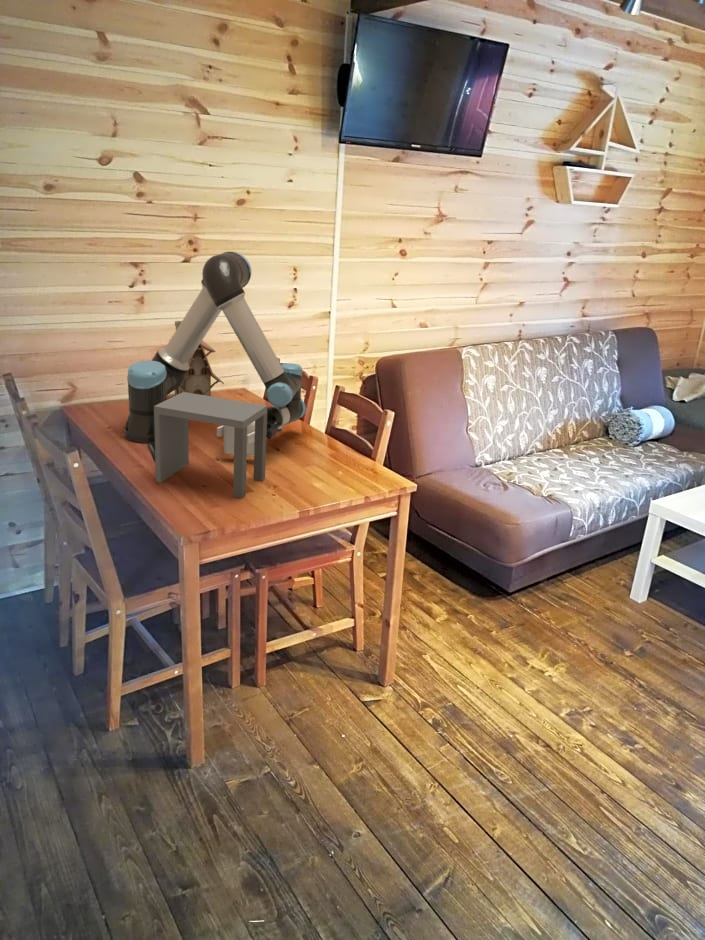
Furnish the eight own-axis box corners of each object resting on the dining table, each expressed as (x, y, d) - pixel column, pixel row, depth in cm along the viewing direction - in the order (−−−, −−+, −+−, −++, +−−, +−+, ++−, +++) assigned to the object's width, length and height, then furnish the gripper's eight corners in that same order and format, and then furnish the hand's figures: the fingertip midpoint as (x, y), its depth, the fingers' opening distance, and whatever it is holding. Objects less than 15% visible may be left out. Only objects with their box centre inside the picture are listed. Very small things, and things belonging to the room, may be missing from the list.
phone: (155, 459, 214) (147, 442, 226) (155, 463, 214) (147, 446, 227) (181, 458, 217) (172, 441, 229) (181, 461, 217) (172, 444, 230)
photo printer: (222, 455, 217) (222, 415, 212) (224, 450, 221) (224, 411, 216) (256, 457, 217) (257, 418, 213) (258, 452, 221) (259, 413, 217)
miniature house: (175, 420, 251) (174, 334, 240) (161, 400, 270) (159, 320, 259) (226, 416, 258) (227, 333, 247) (209, 397, 278) (209, 320, 267)
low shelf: (155, 481, 201) (153, 406, 192) (184, 463, 215) (183, 391, 207) (241, 498, 195) (243, 421, 186) (264, 478, 209) (267, 405, 201)
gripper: (302, 436, 229) (263, 456, 210) (244, 421, 237) (201, 439, 219) (303, 413, 226) (264, 432, 207) (244, 400, 235) (201, 416, 216)
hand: (232, 436), depth 213 cm, fingers closed on photo printer, 10 cm apart
